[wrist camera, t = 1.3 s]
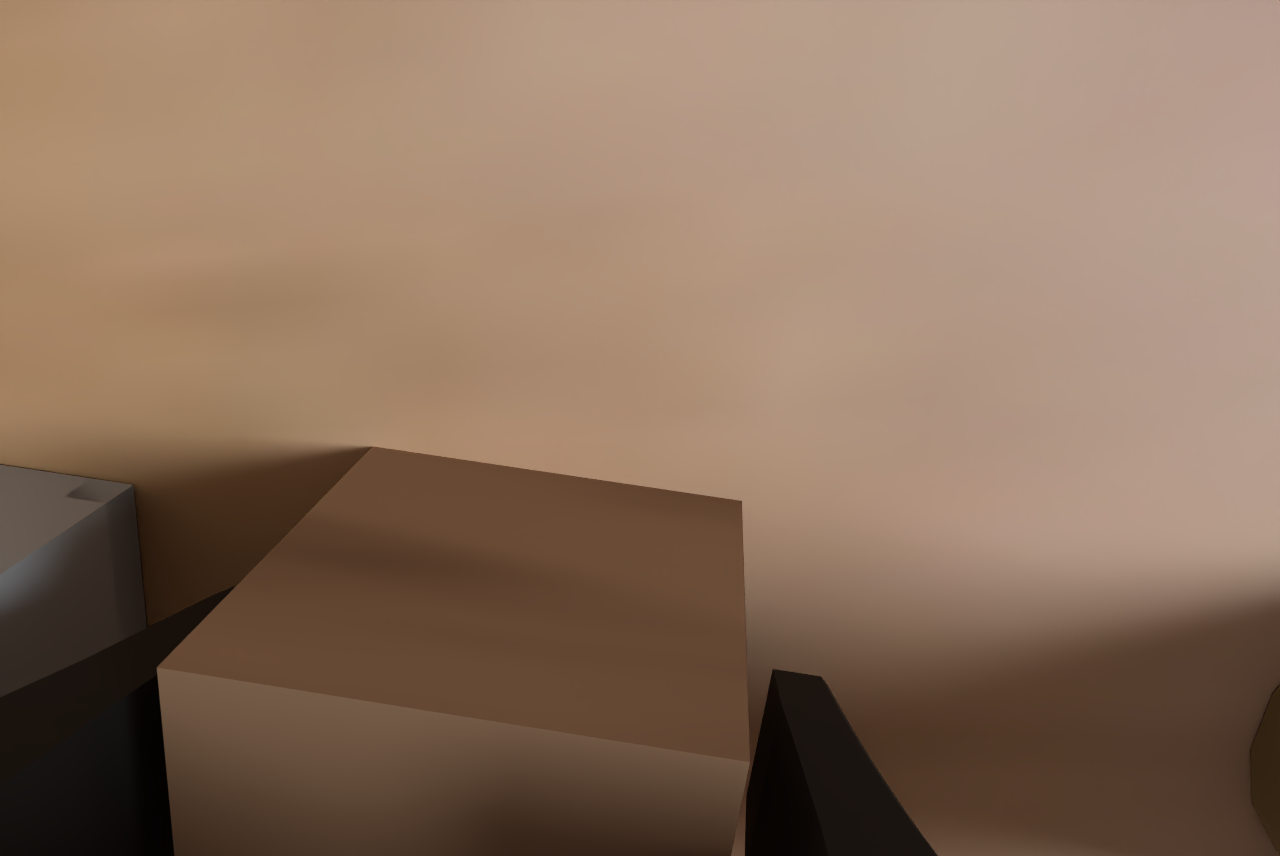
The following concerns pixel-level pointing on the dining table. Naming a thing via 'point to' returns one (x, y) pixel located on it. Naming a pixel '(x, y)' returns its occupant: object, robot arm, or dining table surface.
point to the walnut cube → (470, 674)
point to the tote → (64, 571)
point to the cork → (1268, 770)
